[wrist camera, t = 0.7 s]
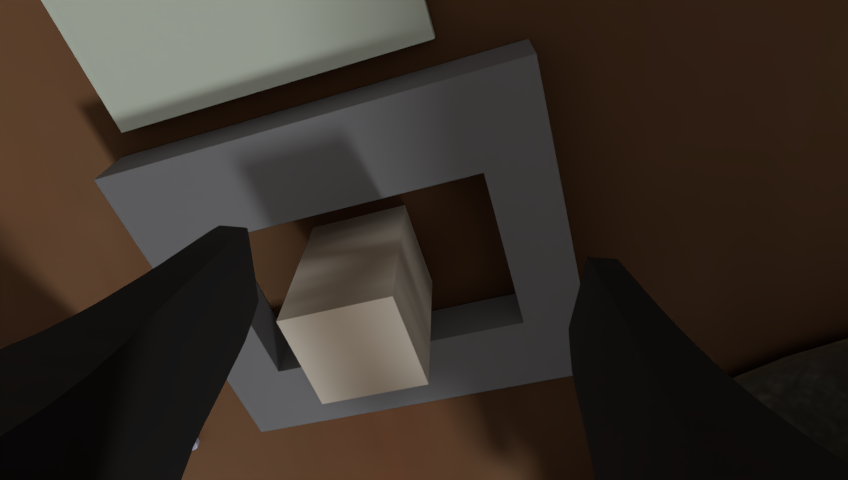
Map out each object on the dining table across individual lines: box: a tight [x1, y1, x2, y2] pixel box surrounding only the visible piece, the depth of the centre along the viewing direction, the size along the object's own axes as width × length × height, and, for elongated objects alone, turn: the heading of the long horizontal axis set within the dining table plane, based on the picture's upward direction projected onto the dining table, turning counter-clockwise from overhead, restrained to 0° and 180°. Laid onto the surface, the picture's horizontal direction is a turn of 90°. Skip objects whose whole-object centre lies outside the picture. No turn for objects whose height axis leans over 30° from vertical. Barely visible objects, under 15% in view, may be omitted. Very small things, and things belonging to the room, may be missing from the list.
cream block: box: [276, 205, 432, 404], centre depth 22 cm, size 4×4×6 cm
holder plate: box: [94, 39, 580, 432], centre depth 23 cm, size 16×14×2 cm
